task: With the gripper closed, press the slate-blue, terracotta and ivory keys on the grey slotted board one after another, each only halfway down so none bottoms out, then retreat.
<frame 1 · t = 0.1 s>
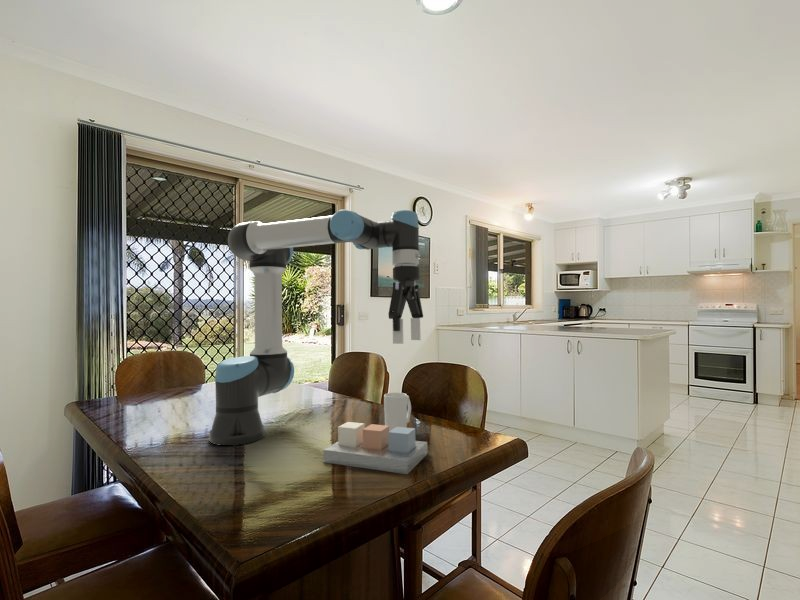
hand: (407, 341, 114), 28 cm above the table, fingers open, 13 cm apart
ivory key: (351, 434, 104), point 5 cm above the table, slide at 0.0 cm
terracotta key: (376, 437, 102), point 5 cm above the table, slide at 0.0 cm
mug: (399, 435, 121), on the table
grey slotted board: (376, 457, 101), on the table
slate key: (402, 440, 99), point 5 cm above the table, slide at 0.0 cm
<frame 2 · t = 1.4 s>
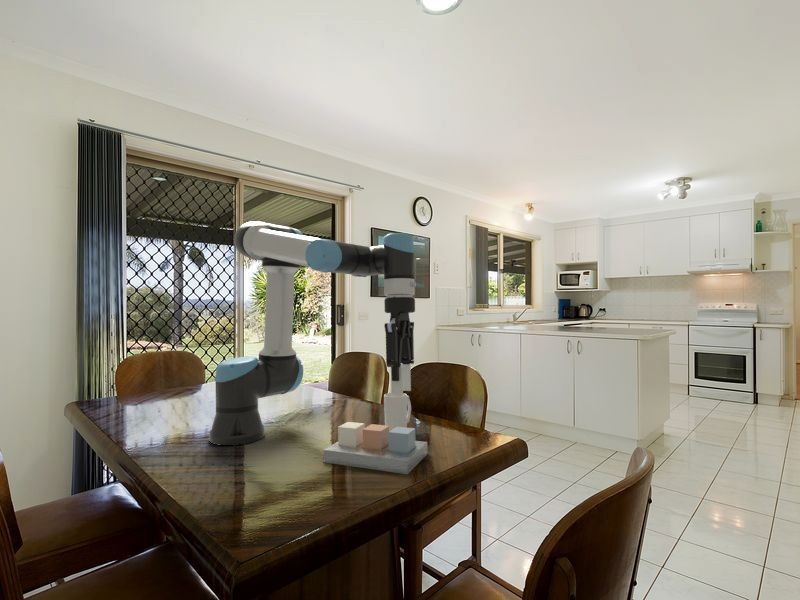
hand: (401, 392, 99), 17 cm above the table, fingers open, 4 cm apart
nothing on the table moved.
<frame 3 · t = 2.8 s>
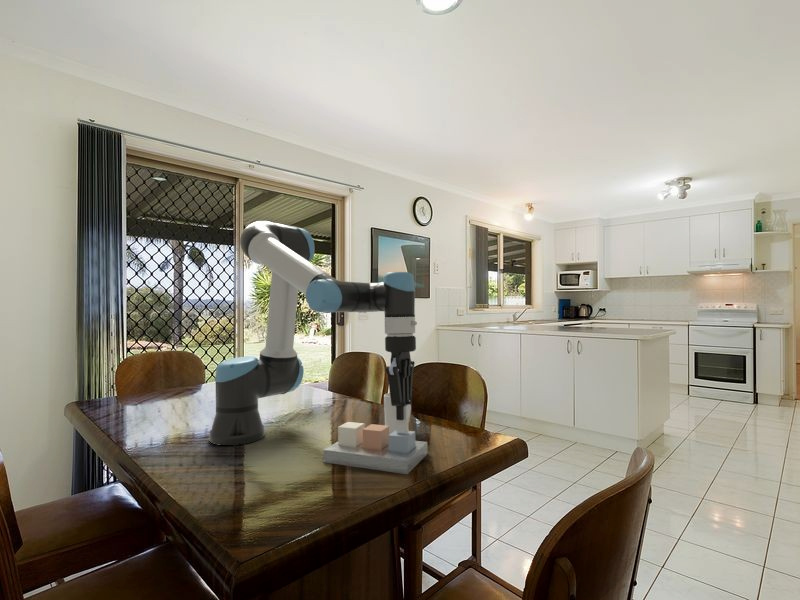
hand: (402, 432, 99), 7 cm above the table, fingers closed
slate key: (402, 443, 99), point 4 cm above the table, slide at 0.8 cm
everything else where it was.
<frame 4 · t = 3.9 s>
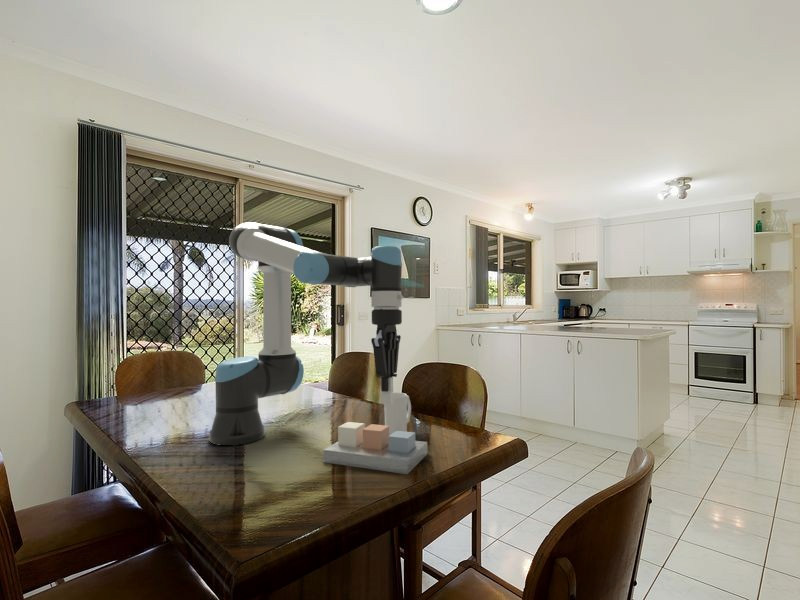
hand: (387, 403, 101), 14 cm above the table, fingers closed
nothing on the table moved.
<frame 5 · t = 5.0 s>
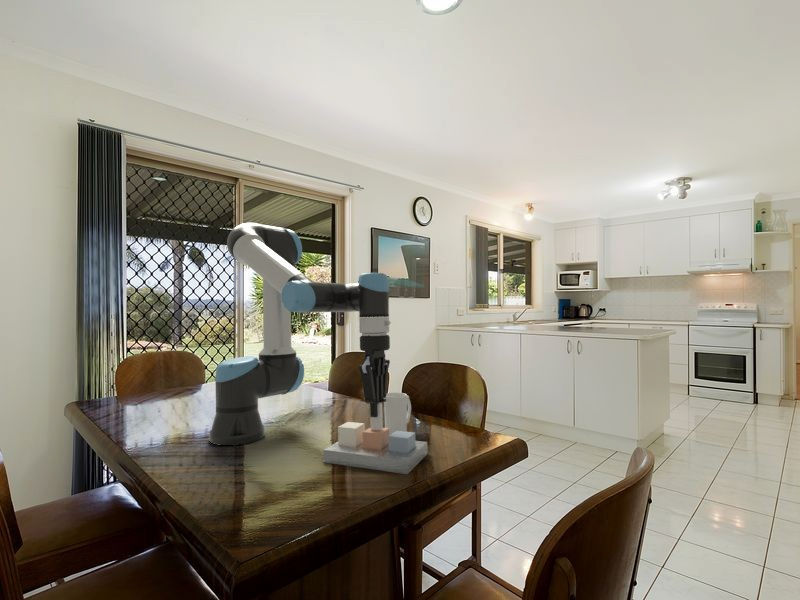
hand: (376, 429, 102), 7 cm above the table, fingers closed
terracotta key: (376, 440, 102), point 4 cm above the table, slide at 0.6 cm, touching gripper
everything else where it was.
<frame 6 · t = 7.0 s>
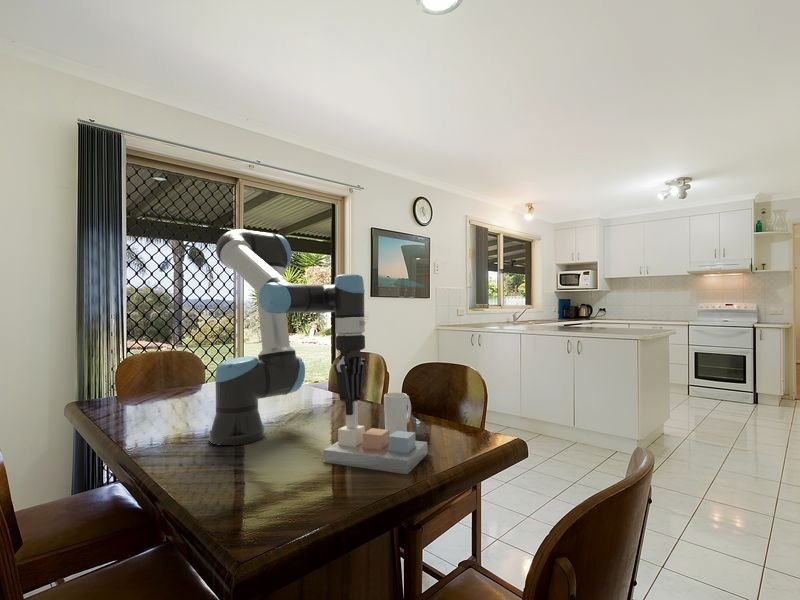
hand: (351, 426, 104), 7 cm above the table, fingers closed
ivory key: (351, 437, 104), point 4 cm above the table, slide at 0.6 cm, touching gripper
terracotta key: (376, 441, 102), point 4 cm above the table, slide at 1.0 cm
everything else where it was.
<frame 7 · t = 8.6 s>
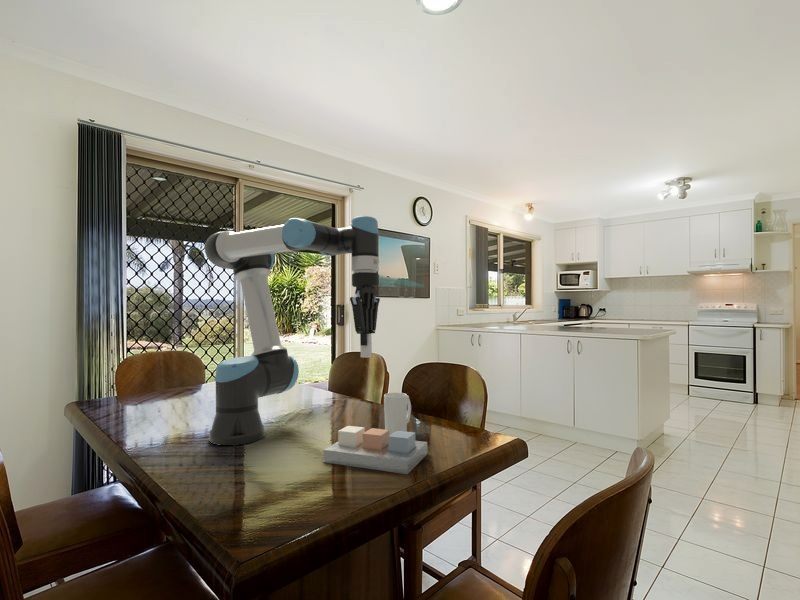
hand: (366, 357, 113), 24 cm above the table, fingers closed
ivory key: (351, 439, 104), point 4 cm above the table, slide at 1.0 cm
everything else where it was.
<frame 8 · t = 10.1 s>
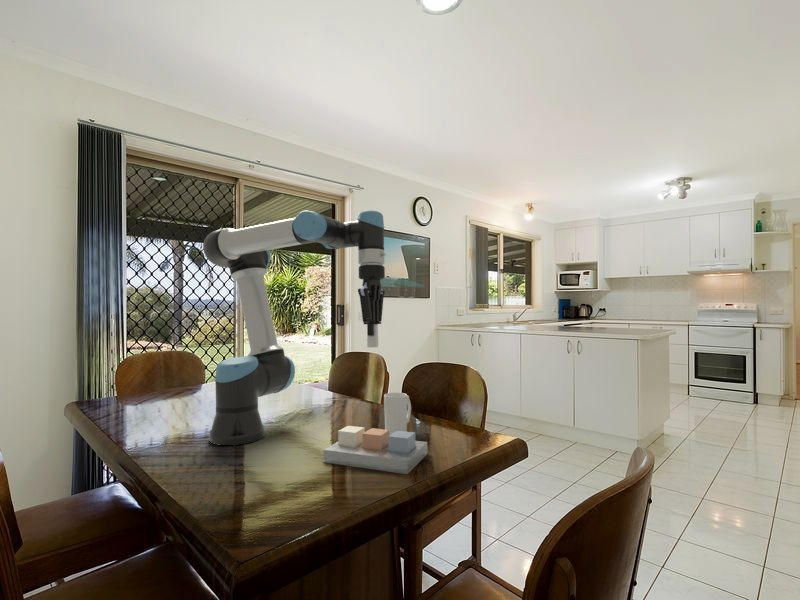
hand: (372, 347, 117), 26 cm above the table, fingers closed
nothing on the table moved.
at the end: slate key slide at 1.0 cm; terracotta key slide at 1.0 cm; ivory key slide at 1.0 cm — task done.
